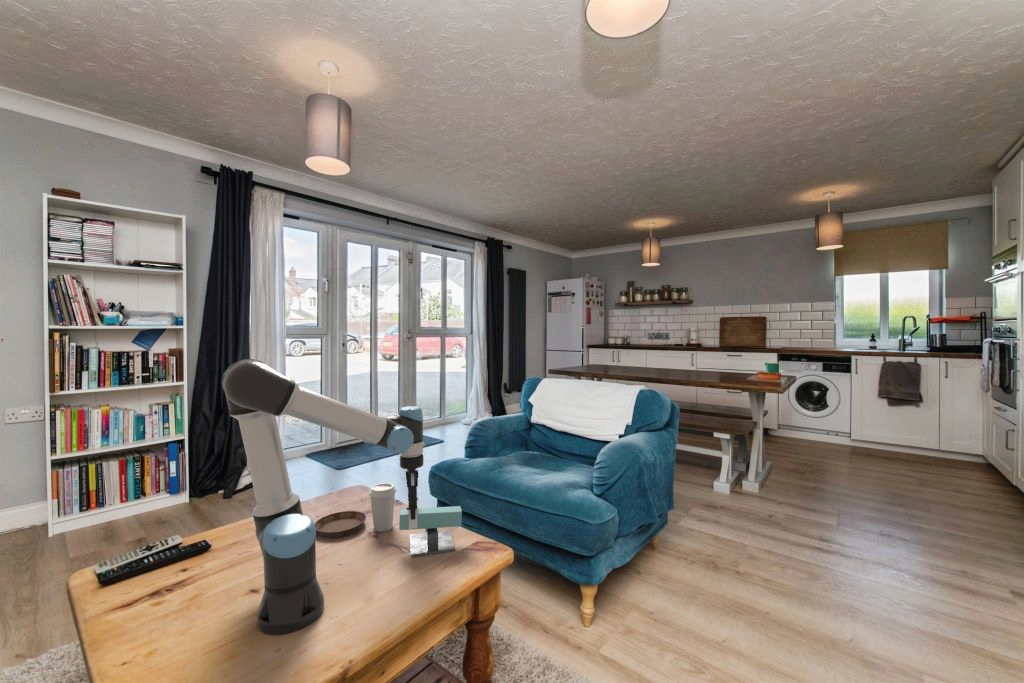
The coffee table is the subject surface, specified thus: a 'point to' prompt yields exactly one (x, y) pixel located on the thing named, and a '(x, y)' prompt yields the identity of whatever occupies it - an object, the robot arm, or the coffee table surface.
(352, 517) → the plant saucer
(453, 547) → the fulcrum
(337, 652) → the coffee table surface
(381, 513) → the coffee cup
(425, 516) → the bar
